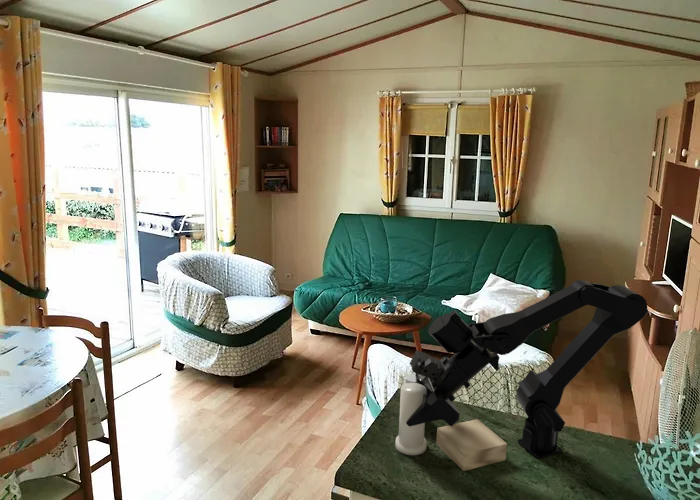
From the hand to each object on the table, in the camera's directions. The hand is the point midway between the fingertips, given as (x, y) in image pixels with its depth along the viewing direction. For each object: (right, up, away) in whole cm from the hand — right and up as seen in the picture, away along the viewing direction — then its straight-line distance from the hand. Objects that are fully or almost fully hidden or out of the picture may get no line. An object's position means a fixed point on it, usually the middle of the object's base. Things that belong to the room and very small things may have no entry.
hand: (405, 417), depth 111 cm
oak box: (+13, -7, 0) cm, 15 cm away
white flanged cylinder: (+1, -6, +1) cm, 7 cm away
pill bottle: (+3, -4, +13) cm, 14 cm away
